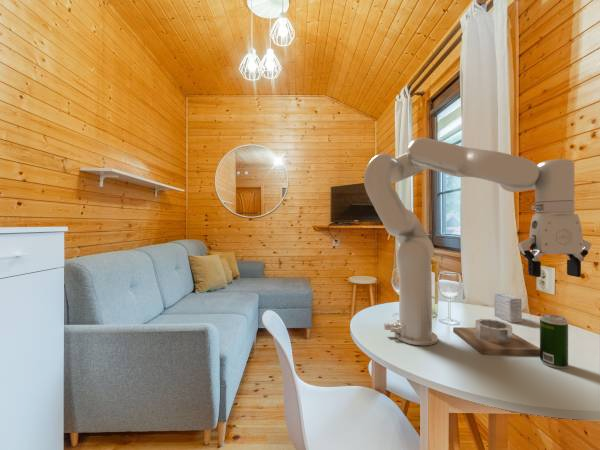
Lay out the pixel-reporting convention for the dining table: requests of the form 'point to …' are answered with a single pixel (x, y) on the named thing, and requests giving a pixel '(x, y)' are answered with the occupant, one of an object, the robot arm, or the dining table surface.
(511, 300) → the medicine box
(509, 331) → the can sleeve
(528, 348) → the walnut stand
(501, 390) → the dining table surface
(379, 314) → the dining table surface
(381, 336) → the dining table surface
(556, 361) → the beer can
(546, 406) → the dining table surface
